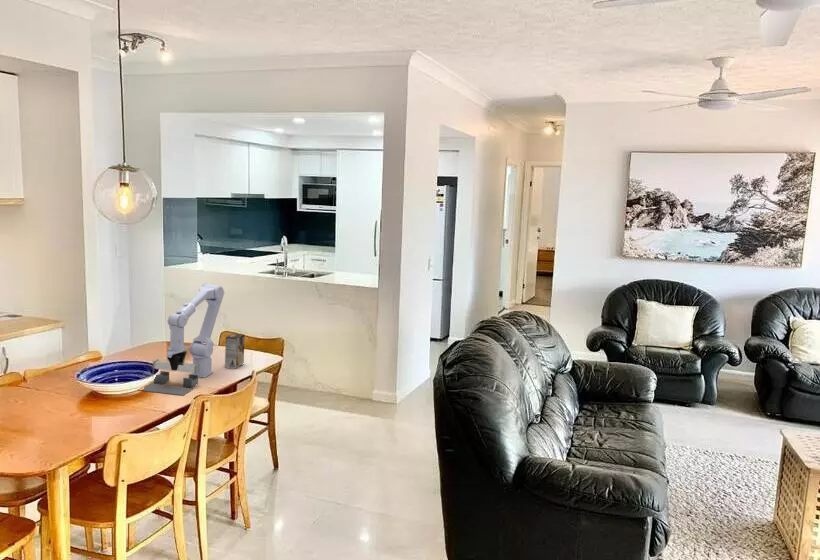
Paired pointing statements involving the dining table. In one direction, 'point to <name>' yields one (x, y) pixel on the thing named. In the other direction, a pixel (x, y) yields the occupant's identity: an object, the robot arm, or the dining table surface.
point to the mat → (167, 389)
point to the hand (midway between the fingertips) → (176, 368)
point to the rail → (181, 366)
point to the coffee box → (234, 350)
